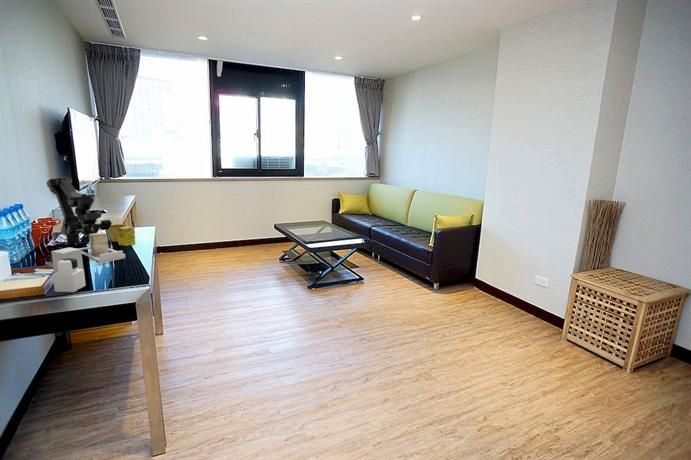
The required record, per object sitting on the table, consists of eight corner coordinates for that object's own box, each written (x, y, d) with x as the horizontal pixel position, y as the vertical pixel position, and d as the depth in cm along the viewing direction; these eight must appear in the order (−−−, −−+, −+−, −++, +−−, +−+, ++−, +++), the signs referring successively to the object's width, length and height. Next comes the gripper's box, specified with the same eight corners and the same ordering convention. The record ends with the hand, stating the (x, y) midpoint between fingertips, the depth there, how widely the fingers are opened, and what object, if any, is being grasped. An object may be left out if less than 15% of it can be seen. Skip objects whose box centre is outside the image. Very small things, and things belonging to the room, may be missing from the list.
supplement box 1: (85, 277, 150) (82, 249, 147) (66, 283, 143) (63, 253, 140) (73, 274, 152) (69, 246, 150) (54, 280, 145) (50, 251, 143)
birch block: (91, 253, 178) (89, 234, 176) (104, 251, 183) (102, 232, 181) (95, 255, 175) (93, 235, 173) (108, 252, 180) (107, 233, 178)
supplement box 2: (127, 248, 194) (126, 229, 192) (118, 247, 195) (116, 228, 193) (136, 245, 200) (134, 226, 198) (127, 244, 201) (125, 225, 199)
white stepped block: (67, 285, 141) (63, 256, 139) (86, 285, 142) (82, 257, 139) (54, 292, 134) (50, 262, 132) (74, 292, 135) (70, 262, 132)
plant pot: (133, 241, 209) (132, 224, 207) (119, 245, 199) (118, 228, 197) (118, 239, 211) (116, 223, 209) (103, 243, 201) (102, 226, 199)
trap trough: (75, 252, 181) (74, 245, 181) (101, 248, 191) (100, 241, 190) (98, 263, 168) (97, 255, 167) (125, 258, 178) (124, 250, 177)
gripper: (66, 208, 171) (78, 234, 167) (108, 204, 186) (120, 228, 183) (61, 221, 177) (73, 247, 173) (102, 217, 192) (114, 240, 189)
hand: (96, 240), depth 179 cm, fingers closed, pressing on birch block
